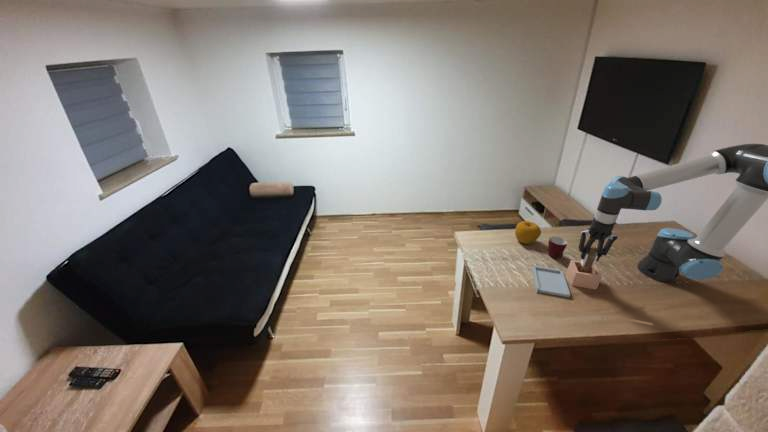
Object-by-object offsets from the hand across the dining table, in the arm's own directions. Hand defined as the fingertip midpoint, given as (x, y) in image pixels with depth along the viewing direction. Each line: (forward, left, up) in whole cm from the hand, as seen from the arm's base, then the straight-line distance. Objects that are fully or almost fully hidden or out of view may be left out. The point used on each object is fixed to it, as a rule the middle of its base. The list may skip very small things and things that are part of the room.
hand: (586, 265), depth 135 cm
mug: (+8, -17, -10) cm, 21 cm away
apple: (+21, -30, -10) cm, 38 cm away
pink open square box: (0, 0, -10) cm, 10 cm away
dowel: (0, 0, -9) cm, 9 cm away
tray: (+14, +5, -10) cm, 18 cm away
